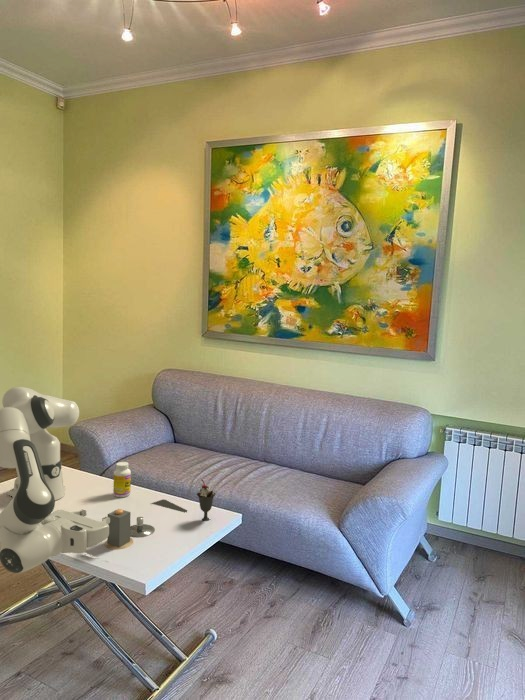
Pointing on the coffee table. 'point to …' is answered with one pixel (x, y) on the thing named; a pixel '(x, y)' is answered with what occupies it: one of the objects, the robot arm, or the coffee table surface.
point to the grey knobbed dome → (141, 529)
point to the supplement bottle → (122, 480)
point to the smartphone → (169, 505)
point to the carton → (119, 528)
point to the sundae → (205, 500)
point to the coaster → (121, 546)
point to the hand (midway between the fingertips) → (96, 515)
